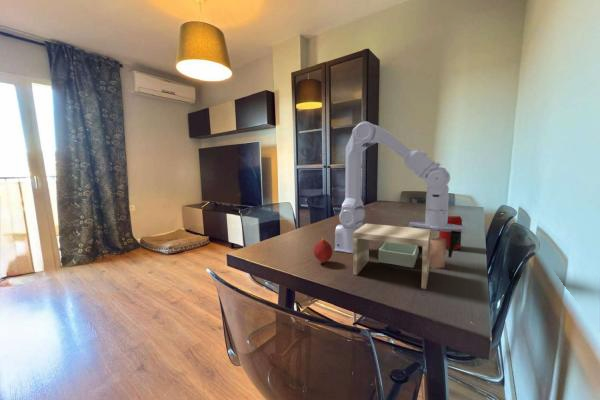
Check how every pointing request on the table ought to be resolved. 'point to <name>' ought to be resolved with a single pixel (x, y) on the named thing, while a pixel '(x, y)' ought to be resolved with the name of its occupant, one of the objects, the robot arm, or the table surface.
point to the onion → (323, 251)
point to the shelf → (395, 236)
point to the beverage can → (454, 220)
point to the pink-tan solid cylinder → (437, 252)
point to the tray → (398, 254)
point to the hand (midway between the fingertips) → (434, 254)
